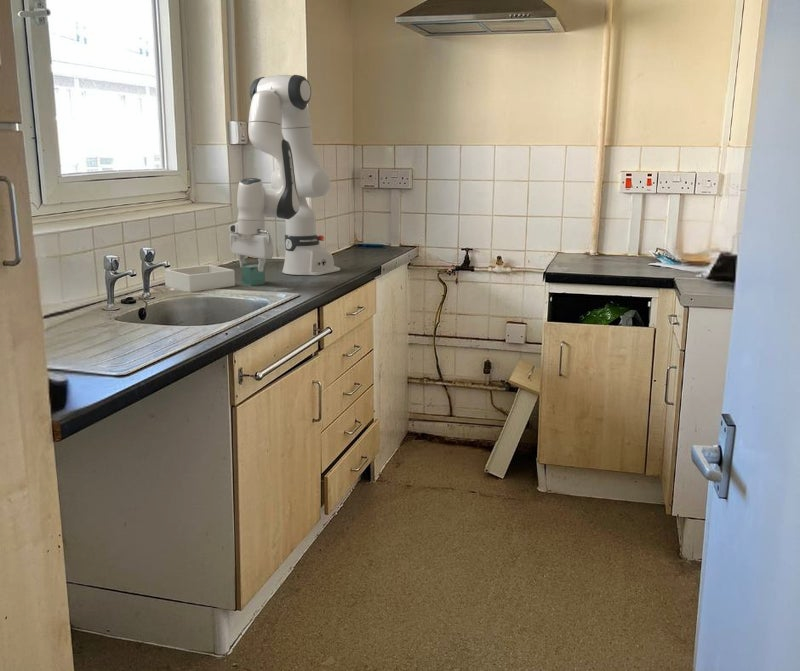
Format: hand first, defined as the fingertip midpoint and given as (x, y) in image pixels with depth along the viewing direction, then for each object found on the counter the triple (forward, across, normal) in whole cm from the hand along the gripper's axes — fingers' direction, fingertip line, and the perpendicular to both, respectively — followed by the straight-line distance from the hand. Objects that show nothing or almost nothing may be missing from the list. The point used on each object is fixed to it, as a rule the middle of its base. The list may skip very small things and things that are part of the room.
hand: (251, 269), depth 266 cm
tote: (+6, +9, +14) cm, 18 cm away
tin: (+6, 0, -1) cm, 6 cm away
